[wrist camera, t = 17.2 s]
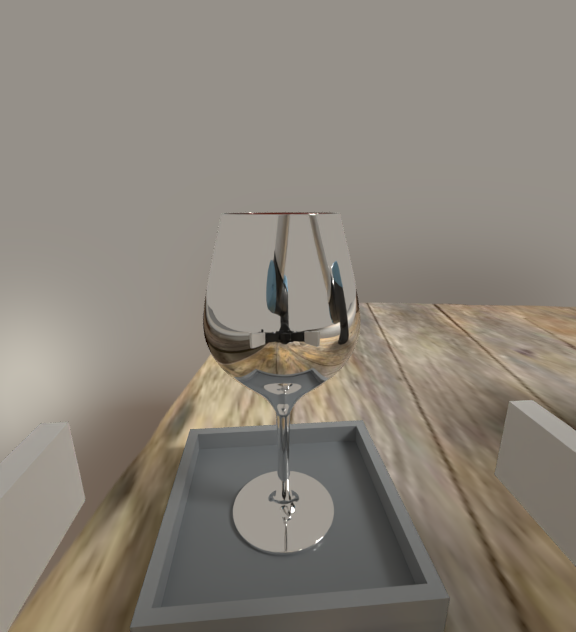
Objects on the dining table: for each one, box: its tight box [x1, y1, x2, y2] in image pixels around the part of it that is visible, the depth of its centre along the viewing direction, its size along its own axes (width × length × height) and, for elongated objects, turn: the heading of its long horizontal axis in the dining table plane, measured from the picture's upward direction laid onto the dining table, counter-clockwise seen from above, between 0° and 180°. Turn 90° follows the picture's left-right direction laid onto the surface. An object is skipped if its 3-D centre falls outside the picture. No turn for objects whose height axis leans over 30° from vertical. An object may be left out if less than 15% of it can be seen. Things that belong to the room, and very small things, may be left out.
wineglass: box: [203, 212, 360, 556], centre depth 20 cm, size 8×8×18 cm
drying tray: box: [130, 420, 450, 632], centre depth 22 cm, size 14×14×2 cm
